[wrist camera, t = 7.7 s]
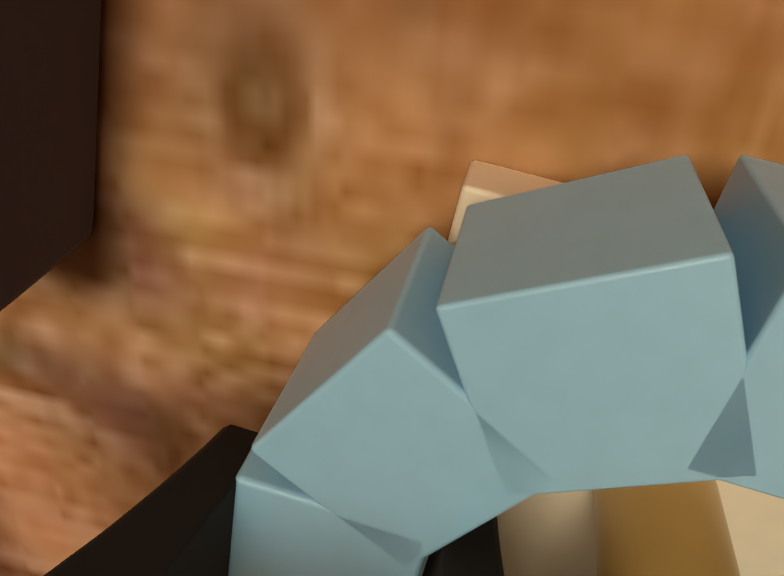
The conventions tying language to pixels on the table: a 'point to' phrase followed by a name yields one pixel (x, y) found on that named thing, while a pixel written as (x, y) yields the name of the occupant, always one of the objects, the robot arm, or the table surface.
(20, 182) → the button keypad
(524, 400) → the ring
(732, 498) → the peg stand
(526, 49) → the table surface
